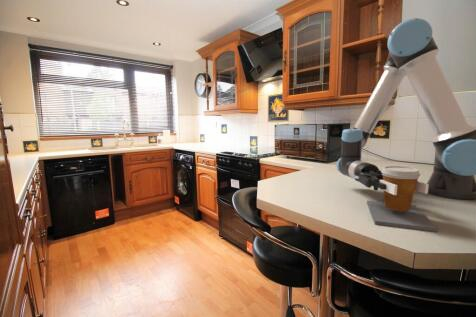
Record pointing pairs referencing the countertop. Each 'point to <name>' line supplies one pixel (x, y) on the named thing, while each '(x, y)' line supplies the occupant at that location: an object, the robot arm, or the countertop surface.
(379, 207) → the drip mat
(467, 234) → the countertop surface
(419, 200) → the countertop surface
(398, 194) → the disposable coffee cup
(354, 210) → the countertop surface
